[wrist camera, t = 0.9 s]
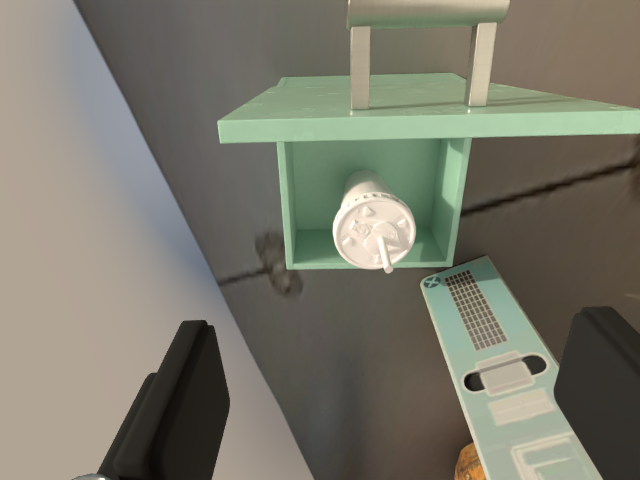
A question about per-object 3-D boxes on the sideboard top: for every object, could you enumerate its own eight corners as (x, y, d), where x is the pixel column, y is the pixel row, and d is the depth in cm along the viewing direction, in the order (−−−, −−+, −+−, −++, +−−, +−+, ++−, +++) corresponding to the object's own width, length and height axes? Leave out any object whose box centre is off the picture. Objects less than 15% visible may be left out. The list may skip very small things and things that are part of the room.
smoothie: (375, 227, 42) (396, 316, 30) (319, 200, 41) (317, 283, 28) (410, 173, 39) (449, 248, 27) (351, 143, 38) (363, 207, 26)
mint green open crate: (433, 229, 43) (452, 267, 37) (292, 232, 43) (286, 269, 37) (453, 72, 35) (480, 86, 29) (281, 77, 36) (272, 91, 29)
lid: (640, 134, 14) (694, -53, 12) (219, 143, 15) (197, -37, 12) (481, 93, 29) (493, 5, 27) (272, 98, 29) (266, 12, 27)
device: (417, 279, 46) (541, 639, 20) (487, 253, 44) (722, 611, 18) (459, 375, 53) (590, 732, 27) (520, 356, 51) (723, 718, 25)
